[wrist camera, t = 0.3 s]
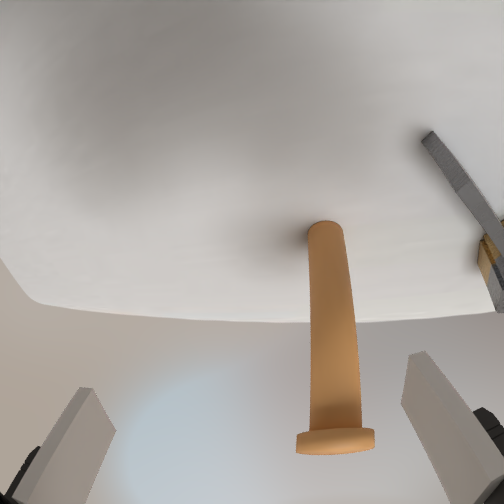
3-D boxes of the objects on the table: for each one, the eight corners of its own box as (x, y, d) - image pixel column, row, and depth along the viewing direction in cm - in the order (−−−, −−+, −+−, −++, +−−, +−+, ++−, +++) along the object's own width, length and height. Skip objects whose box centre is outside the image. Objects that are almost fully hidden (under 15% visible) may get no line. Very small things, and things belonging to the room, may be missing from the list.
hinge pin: (303, 211, 24) (304, 446, 12) (357, 217, 24) (387, 443, 12) (295, 249, 27) (290, 454, 16) (343, 254, 27) (358, 453, 16)
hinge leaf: (541, 238, 22) (563, 280, 18) (489, 277, 28) (505, 322, 23) (465, 99, 15) (512, 142, 11) (388, 172, 20) (411, 229, 16)
